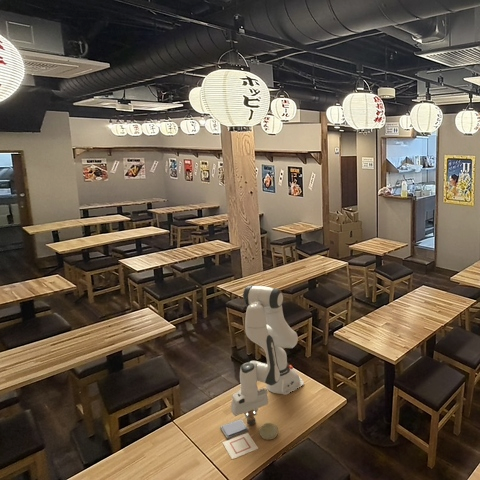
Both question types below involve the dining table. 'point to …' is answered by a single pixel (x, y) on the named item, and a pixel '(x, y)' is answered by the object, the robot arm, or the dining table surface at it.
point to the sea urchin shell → (268, 431)
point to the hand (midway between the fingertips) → (250, 416)
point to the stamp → (251, 418)
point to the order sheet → (240, 445)
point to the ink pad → (234, 429)
